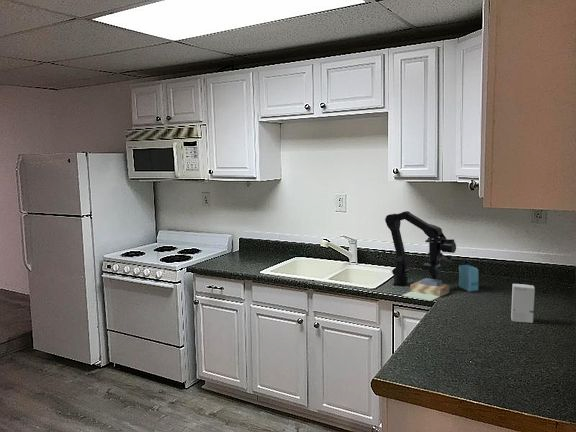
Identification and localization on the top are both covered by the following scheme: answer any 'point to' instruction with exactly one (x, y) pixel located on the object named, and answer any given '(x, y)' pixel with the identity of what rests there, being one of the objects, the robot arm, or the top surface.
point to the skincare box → (522, 303)
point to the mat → (420, 296)
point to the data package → (468, 278)
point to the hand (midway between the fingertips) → (434, 280)
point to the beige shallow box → (429, 289)
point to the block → (431, 282)
